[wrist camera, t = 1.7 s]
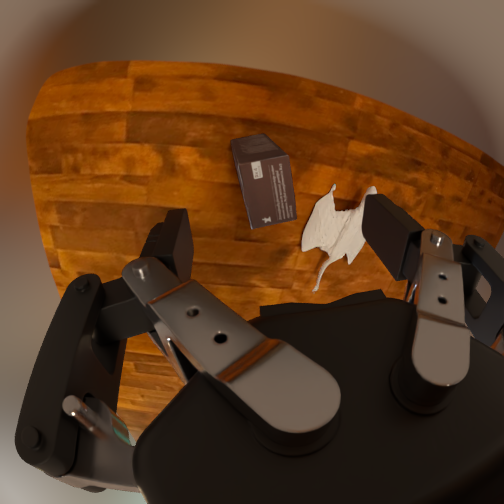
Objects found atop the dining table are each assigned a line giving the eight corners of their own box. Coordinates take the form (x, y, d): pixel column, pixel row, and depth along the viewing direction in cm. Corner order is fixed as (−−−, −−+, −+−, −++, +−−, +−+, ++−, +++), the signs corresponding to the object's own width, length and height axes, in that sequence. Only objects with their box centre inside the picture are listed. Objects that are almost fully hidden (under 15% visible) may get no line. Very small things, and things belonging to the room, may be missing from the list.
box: (275, 177, 34) (298, 221, 24) (239, 184, 34) (246, 232, 24) (267, 130, 31) (290, 154, 21) (229, 137, 31) (232, 165, 21)
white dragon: (334, 286, 45) (342, 303, 42) (279, 273, 42) (283, 291, 39) (390, 191, 36) (405, 203, 33) (333, 163, 33) (345, 174, 30)
